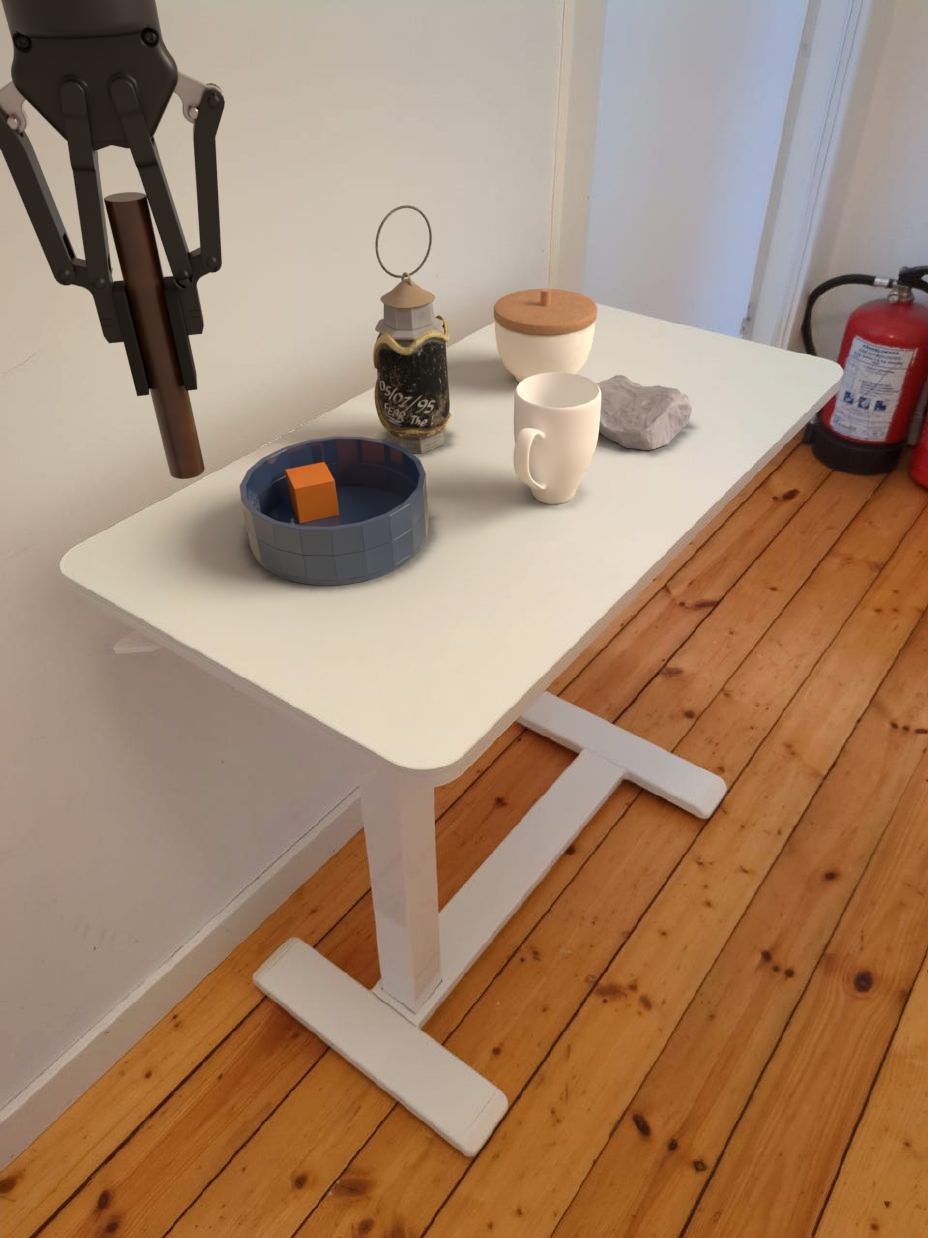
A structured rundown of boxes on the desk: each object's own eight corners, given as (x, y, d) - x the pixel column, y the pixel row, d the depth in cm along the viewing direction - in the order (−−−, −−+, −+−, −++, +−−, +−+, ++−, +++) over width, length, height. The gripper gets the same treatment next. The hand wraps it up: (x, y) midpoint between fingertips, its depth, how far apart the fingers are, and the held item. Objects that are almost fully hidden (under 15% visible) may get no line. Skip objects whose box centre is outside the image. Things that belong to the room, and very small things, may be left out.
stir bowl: (257, 599, 79) (245, 543, 76) (246, 501, 93) (235, 449, 89) (445, 568, 82) (443, 513, 79) (409, 477, 95) (406, 426, 92)
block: (299, 524, 88) (294, 488, 85) (290, 504, 91) (285, 469, 88) (339, 515, 89) (334, 480, 86) (329, 496, 92) (324, 461, 89)
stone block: (650, 470, 99) (697, 421, 103) (649, 434, 95) (697, 385, 100) (563, 442, 105) (610, 397, 110) (558, 407, 102) (607, 362, 106)
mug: (535, 466, 97) (538, 365, 90) (606, 484, 93) (615, 381, 86) (481, 519, 89) (479, 413, 82) (557, 541, 85) (562, 433, 78)
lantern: (405, 464, 98) (387, 222, 82) (364, 438, 103) (340, 205, 87) (467, 439, 102) (462, 204, 86) (425, 415, 107) (413, 189, 91)
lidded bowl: (612, 382, 113) (620, 294, 106) (528, 407, 108) (531, 316, 101) (555, 349, 121) (558, 266, 114) (475, 370, 116) (474, 285, 110)
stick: (169, 481, 62) (102, 203, 51) (170, 465, 64) (104, 193, 53) (205, 476, 63) (145, 200, 52) (204, 460, 64) (146, 190, 53)
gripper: (220, -65, 49) (279, 351, 64) (-85, -60, 46) (50, 375, 61) (226, -63, 43) (289, 394, 58) (-121, -56, 40) (38, 423, 55)
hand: (167, 383), depth 59 cm, fingers closed on stick, 2 cm apart
